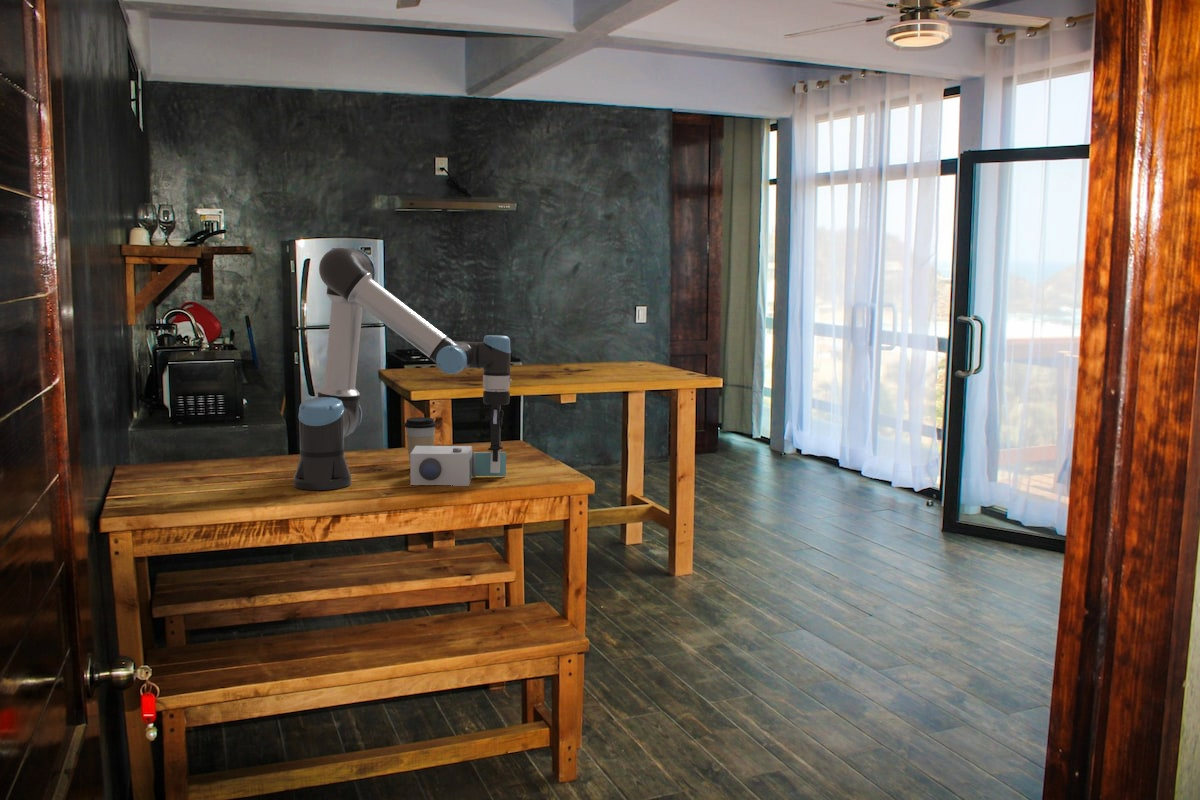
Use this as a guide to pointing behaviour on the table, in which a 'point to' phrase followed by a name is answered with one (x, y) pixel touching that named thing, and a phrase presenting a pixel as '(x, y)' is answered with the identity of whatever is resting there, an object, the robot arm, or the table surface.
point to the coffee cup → (419, 432)
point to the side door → (486, 464)
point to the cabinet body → (441, 465)
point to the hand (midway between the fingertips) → (495, 472)
